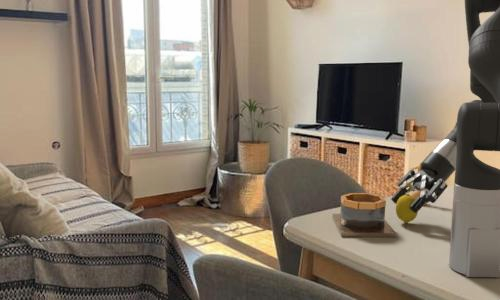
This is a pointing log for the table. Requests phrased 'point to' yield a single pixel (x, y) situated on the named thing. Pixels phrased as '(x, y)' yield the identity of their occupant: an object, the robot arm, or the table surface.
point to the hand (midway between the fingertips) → (402, 206)
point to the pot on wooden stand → (363, 216)
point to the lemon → (405, 208)
